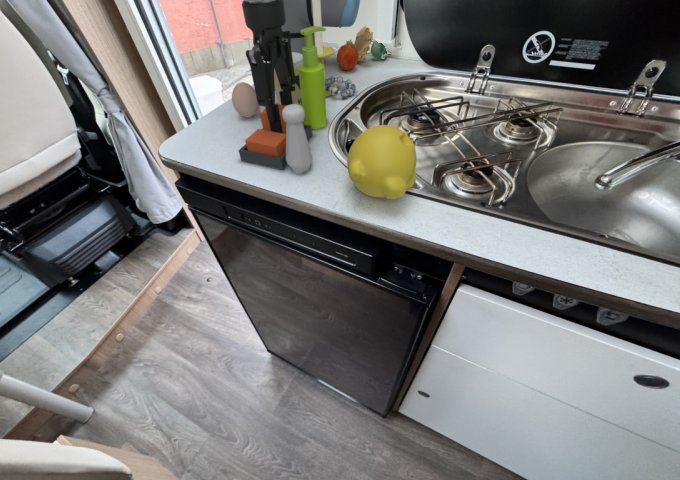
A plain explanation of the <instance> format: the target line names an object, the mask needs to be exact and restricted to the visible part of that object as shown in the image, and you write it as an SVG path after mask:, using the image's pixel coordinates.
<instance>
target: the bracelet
mask: <svg viewBox="0 0 680 480" xmlns="http://www.w3.org/2000/svg"><path fill="white" fill-rule="evenodd" d="M324 82H325V90H326V91H331V93H332V95H331V96H337V95H340V96H341V97H342V98H345V97H347V95H348V96H353V95H354V94H355V91H356V89H357V86H356V84H355V83H352V80H351V79H344V78H343V76H342V75H341V76H338V77H334V76H333V75H330V76H329V77H328V78H325V80H324ZM335 83H337V84H338V85H342V84H344V86H345V87H346V88H348V89H346V88H342V89H340V90H339V89H337V88H338V87H337V88H336V87H334V88H332V87H331V85H330V84H335Z"/></svg>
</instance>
